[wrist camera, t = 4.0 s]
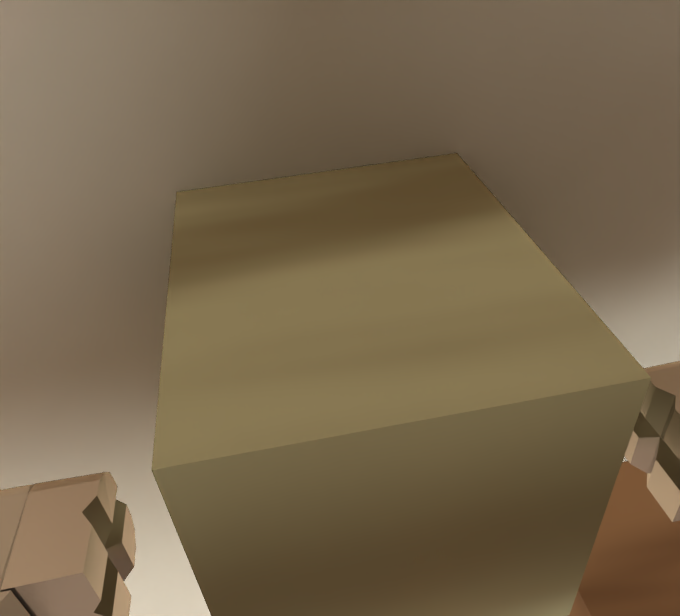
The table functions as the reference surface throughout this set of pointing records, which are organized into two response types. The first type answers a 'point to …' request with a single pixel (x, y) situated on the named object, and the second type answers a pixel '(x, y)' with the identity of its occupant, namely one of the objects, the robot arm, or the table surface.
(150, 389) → the table surface
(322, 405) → the sage cube
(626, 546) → the walnut base block
